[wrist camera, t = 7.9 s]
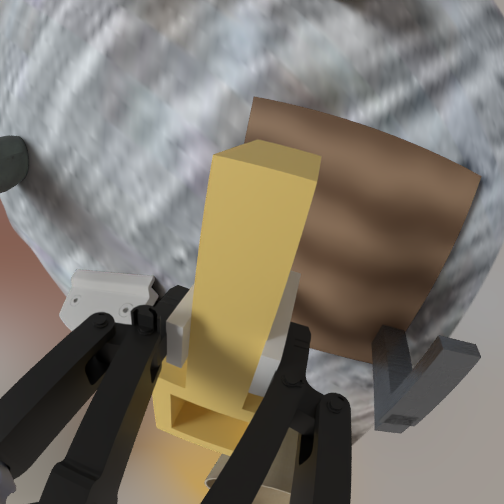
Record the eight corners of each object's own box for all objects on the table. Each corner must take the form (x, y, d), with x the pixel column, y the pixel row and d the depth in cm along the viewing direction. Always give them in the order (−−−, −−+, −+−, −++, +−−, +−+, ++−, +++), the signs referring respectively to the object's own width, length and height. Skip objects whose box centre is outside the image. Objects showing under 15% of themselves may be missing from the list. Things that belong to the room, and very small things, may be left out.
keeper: (407, 255, 27) (443, 348, 15) (438, 266, 26) (481, 357, 15) (366, 333, 32) (369, 429, 21) (394, 340, 32) (405, 433, 20)
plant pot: (335, 423, 42) (324, 506, 29) (274, 441, 50) (254, 509, 36) (277, 381, 40) (250, 477, 26) (217, 405, 47) (186, 479, 34)
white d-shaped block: (156, 275, 36) (125, 343, 30) (169, 297, 40) (144, 361, 33) (74, 268, 41) (45, 319, 34) (89, 287, 44) (63, 336, 38)
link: (217, 130, 14) (153, 143, 9) (363, 169, 13) (386, 204, 8) (186, 374, 23) (156, 427, 18) (269, 402, 22) (252, 462, 17)
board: (257, 97, 24) (253, 96, 23) (474, 172, 21) (481, 176, 20) (217, 310, 36) (213, 317, 35) (380, 357, 34) (381, 365, 32)
